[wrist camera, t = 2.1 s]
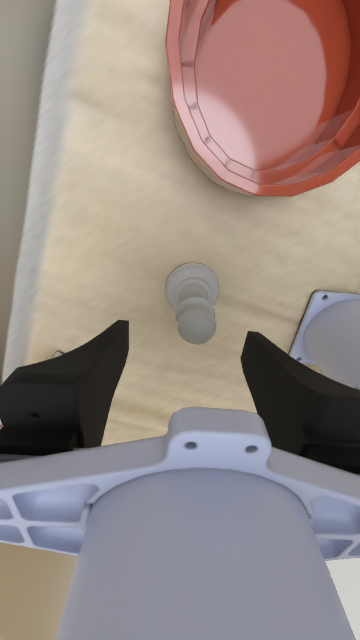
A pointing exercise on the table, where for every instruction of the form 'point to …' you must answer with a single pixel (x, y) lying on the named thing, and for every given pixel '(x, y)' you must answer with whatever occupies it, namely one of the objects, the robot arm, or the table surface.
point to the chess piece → (193, 301)
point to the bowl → (266, 90)
